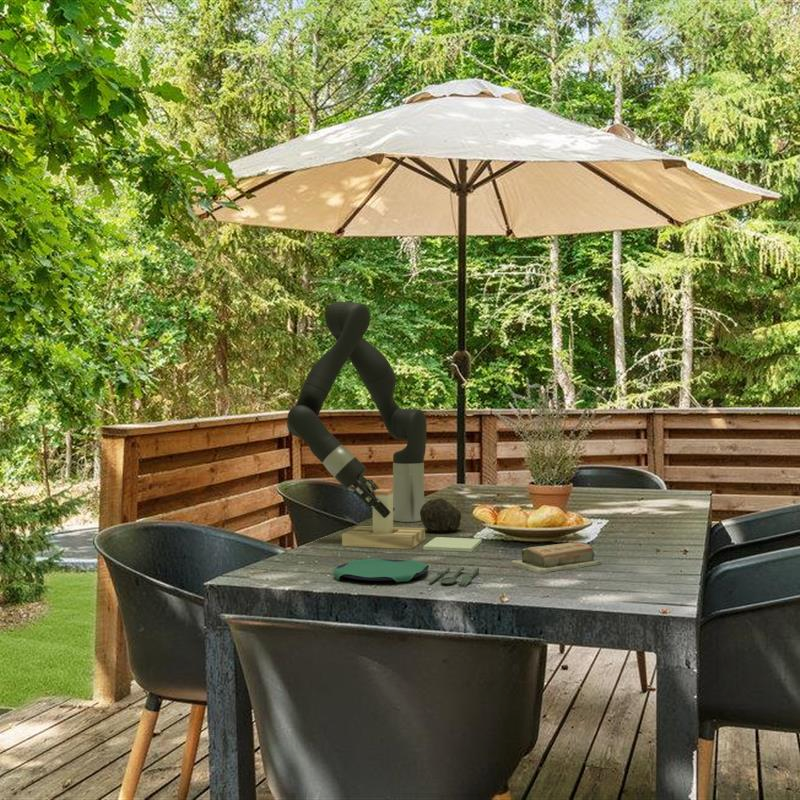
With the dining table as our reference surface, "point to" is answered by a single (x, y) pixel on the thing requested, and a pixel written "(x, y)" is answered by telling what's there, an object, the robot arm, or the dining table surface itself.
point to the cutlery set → (394, 571)
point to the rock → (440, 516)
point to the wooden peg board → (383, 537)
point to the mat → (452, 544)
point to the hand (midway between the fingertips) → (389, 513)
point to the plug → (378, 520)
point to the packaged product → (556, 557)
